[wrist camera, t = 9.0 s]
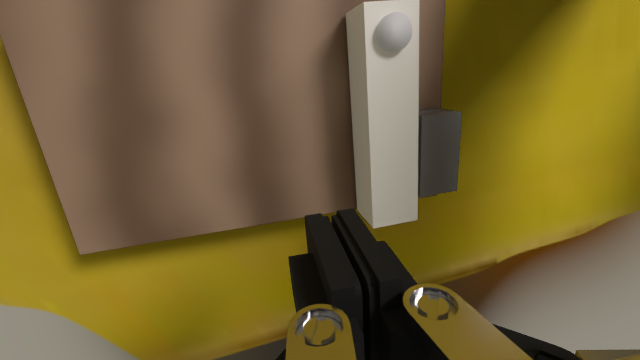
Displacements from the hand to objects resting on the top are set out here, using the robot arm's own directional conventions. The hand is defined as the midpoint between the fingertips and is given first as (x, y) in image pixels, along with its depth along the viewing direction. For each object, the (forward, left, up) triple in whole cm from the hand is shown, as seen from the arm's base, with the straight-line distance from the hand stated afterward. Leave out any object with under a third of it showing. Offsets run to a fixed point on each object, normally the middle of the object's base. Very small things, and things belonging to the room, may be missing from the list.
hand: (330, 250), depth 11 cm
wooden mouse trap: (+1, -3, -13) cm, 14 cm away
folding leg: (-6, -3, -10) cm, 12 cm away
